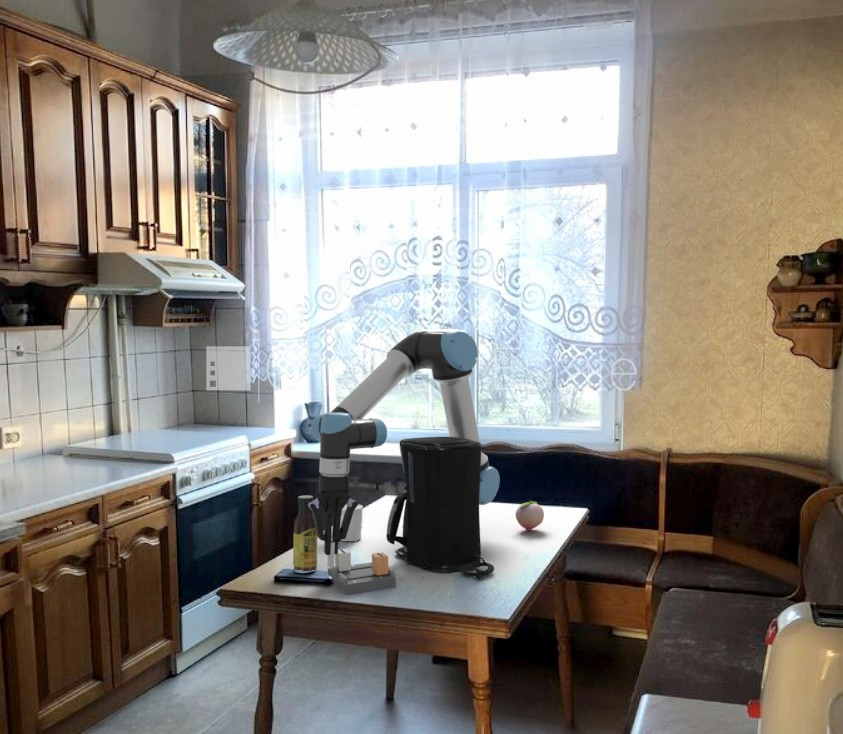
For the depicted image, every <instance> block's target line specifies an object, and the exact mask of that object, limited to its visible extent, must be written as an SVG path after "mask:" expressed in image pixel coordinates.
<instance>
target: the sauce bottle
mask: <svg viewBox="0 0 843 734" xmlns="http://www.w3.org/2000/svg"><path fill="white" fill-rule="evenodd" d="M313 501H314V496H313V495H309V494H307V495H306V494H305V495H300V496H297V503H298V511H297V512H298V514H297V516H296V518H295V519H294V521H293V535H292V536H293V537H292V538H293V541H292V542H293V548H292V549H293V551H292V552H293V553H292V557H293V559H292V561H293V562H292V565H293V571H294V570H302V571H312V570H316V571H317V568H318V537H317V532H316V528H315V524H314V519H313V515H312V511H311V509H310V508H309V506H308V503H309V502H313Z"/></svg>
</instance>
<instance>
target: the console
mask: <svg viewBox="0 0 843 734" xmlns="http://www.w3.org/2000/svg"><path fill="white" fill-rule="evenodd" d="M394 574H395V572H394V570H393V569H391V567H389V566H388V574H384V575H376V574H375V573H373V572H372V561H371V562H365V563H364V562H363V563H358V564H351V570H347V571H341V572H339V571H338V569H337V568H335V566H334V568H333V569H330V568H329V567H328V568H327V576H328V575H329V576H331V577H332V580H333V582H332V583H333V584H334V585H335V586H336V585H337V586H336V588H338V587H339V588H340V589H341V590H342V591H343V594H345V596H349V595H354V594H361V593H367V592H373V591H378V589H380V590H384V589H385V588H387V589H391V588H392V587H393V588H397V577H396V576H395V575H394ZM339 588H338V589H339ZM340 589H339V590H340ZM341 590H340V591H341ZM385 590H386V589H385ZM342 591H341V592H342Z"/></svg>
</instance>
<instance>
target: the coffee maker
mask: <svg viewBox="0 0 843 734" xmlns="http://www.w3.org/2000/svg"><path fill="white" fill-rule="evenodd" d="M482 446H483V445H482V443H481V442H476V441H471V440H469V439H465V438H457V437H450V436H425V437H412V438H402V439H401V440H400V441H399V451H400V452H399V453H400V459H401V464H402V469H403V474H404V475H405V479H406V480H405V481H406V482H405V483H406V485H405V486H404V487H403V490H405V491H406V492H403V493H401V494H399V495H397V496H396V497H395V499H394V500H393V502H392V503H393V504H392V506H391V508H390V511H389V515H388V520H387V525H386V534H385V535H386V537H385V538H386V540H387V542H388V543H390V544H391V545H395V542H397V543H399V544H401V545H402V547H400V548H397V549H396V550H394V553H395V554H396V555H397V556H398V557H401V558H403V559H404V560H406V563H407V564H409V565H414V566H419V567H421V568H425V569H426V570H432V571H436V572H444V573H451V572H457V571H461V573H462V574H463V576H468V577H474V578H475V580H478V581H480V580H481V579H483V578H484V577H487V576H489V575H490V574H491V573H494V572H495V566H494V565H493V564H492V563H489V562H487V561H486V560H485V559H484V558H483V557H482V553H481V551H482V550H481V549H482V548H481V547H482V545H481V527H480V525H481V524H480V520H481V519H480V505H479V494H480V469H481V451H482ZM403 510H404V511H403ZM402 514H403V519H402V536H398V535H397V534H398V530H399V527H400V522H401V518H402ZM479 567H487V568H486V569H485V570H482V569H479ZM475 568H476V569H475ZM472 569H475V571H470V570H472Z"/></svg>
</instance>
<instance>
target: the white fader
mask: <svg viewBox="0 0 843 734" xmlns="http://www.w3.org/2000/svg"><path fill="white" fill-rule="evenodd" d="M351 555H352V553H351V551H349V550H348V549H347V548H344V549H338V553H337V554H334V567H335V568H337V569H338V571H339V572H341V571H347V570H351V565H352V562H351V560H352V556H351Z"/></svg>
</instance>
